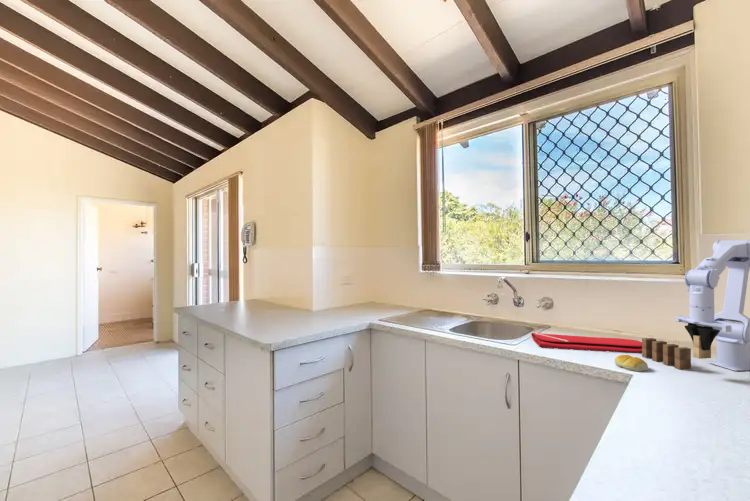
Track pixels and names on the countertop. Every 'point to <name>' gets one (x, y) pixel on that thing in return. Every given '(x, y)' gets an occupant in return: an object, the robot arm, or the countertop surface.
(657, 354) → the domino
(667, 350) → the domino
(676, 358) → the domino
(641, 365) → the bread roll
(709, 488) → the countertop surface
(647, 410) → the countertop surface
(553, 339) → the dish drying mat
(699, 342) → the domino
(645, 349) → the domino
